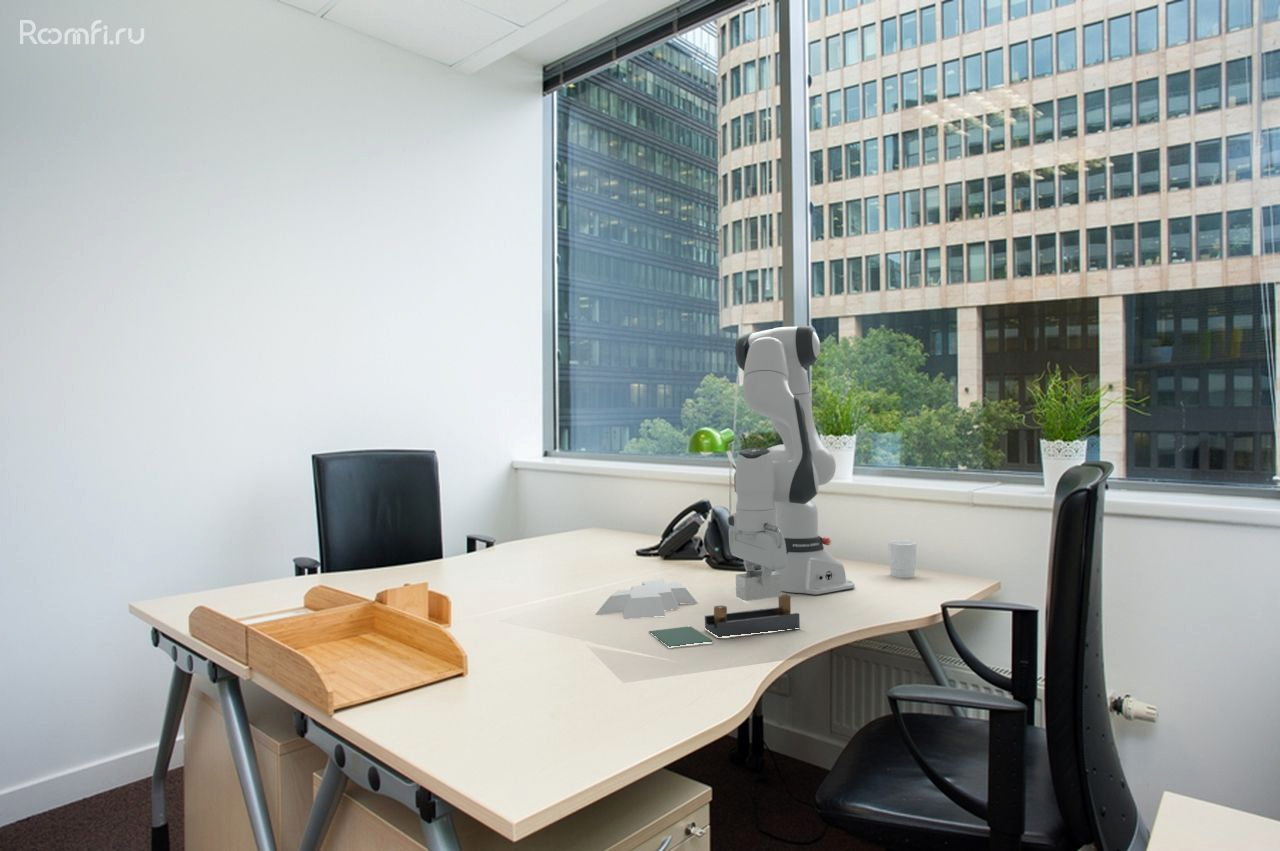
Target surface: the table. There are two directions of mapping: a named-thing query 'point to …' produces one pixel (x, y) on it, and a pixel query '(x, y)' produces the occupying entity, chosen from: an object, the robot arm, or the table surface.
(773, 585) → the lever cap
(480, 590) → the table surface
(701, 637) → the rubber mat
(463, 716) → the table surface
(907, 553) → the white cup
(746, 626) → the dark grey channel holder
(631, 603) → the white jagged cross block
